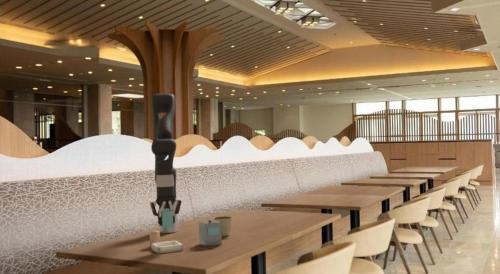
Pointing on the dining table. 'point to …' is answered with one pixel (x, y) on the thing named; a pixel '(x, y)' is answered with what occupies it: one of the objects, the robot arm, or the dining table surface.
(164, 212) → the teal block
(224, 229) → the flower pot
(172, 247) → the tray
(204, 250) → the dining table surface
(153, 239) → the peach capsule
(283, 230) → the dining table surface
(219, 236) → the box
